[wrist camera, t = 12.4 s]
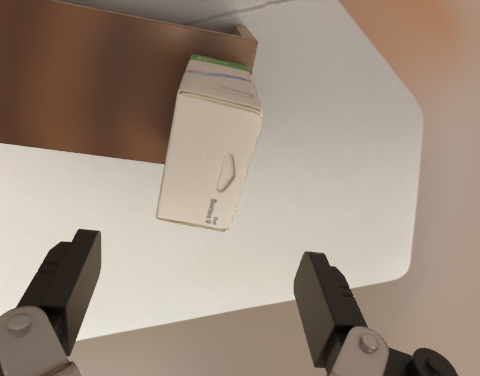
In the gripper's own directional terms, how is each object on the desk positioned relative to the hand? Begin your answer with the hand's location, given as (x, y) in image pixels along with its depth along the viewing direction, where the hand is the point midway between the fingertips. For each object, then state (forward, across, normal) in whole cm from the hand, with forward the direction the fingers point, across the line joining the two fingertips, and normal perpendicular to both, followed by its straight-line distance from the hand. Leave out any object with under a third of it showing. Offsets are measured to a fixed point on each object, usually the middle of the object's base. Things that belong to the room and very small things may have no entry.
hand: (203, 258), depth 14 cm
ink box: (+19, 0, 0) cm, 19 cm away
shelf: (+29, +8, 0) cm, 30 cm away
